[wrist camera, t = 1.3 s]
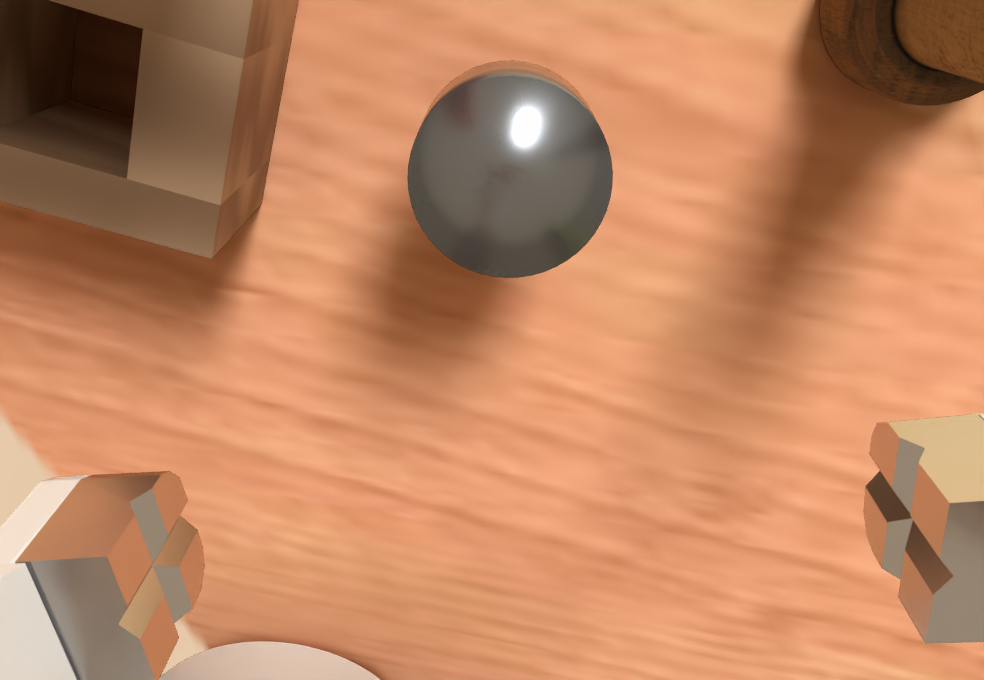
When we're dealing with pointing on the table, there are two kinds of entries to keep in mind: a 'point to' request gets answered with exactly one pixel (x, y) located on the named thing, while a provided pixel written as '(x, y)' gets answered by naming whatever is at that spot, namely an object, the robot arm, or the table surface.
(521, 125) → the grey domed cylinder
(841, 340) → the table surface
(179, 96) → the block
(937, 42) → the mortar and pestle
